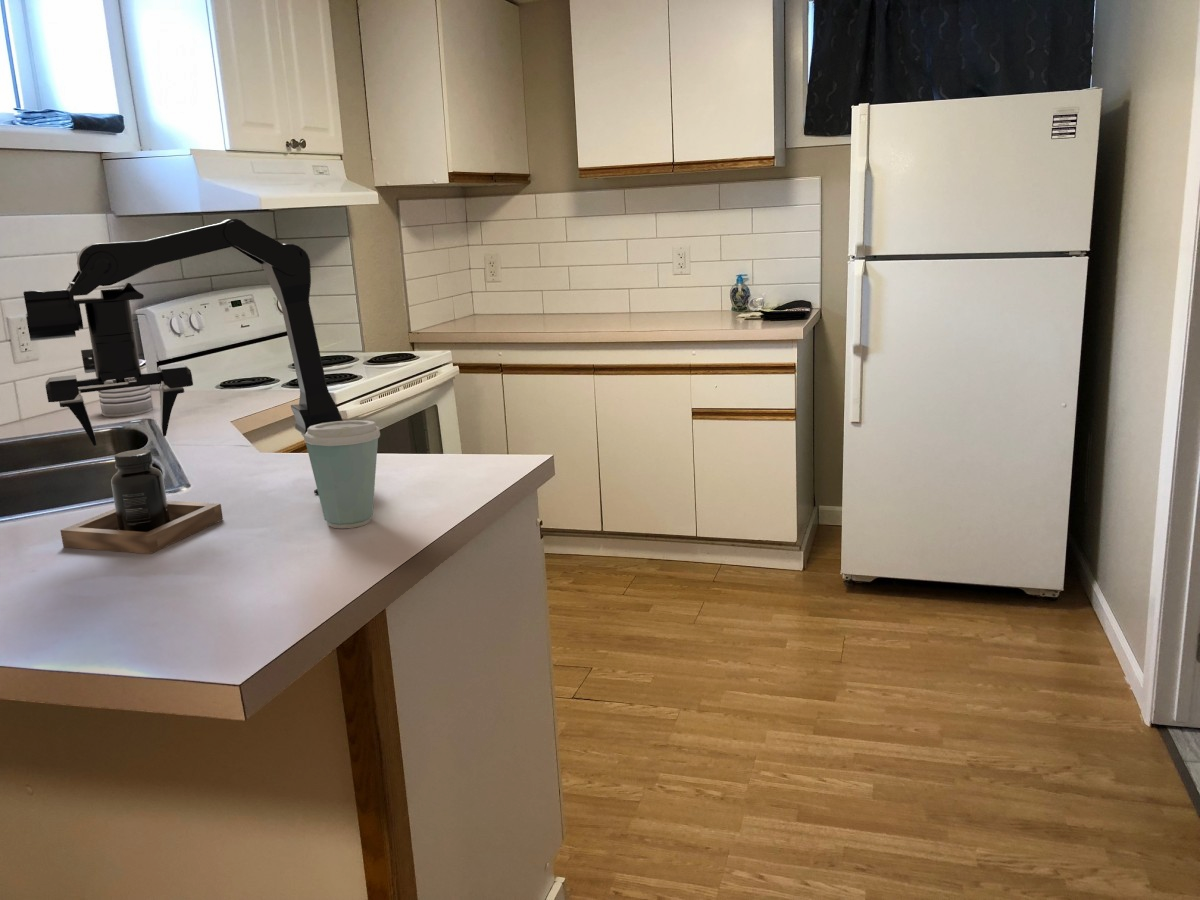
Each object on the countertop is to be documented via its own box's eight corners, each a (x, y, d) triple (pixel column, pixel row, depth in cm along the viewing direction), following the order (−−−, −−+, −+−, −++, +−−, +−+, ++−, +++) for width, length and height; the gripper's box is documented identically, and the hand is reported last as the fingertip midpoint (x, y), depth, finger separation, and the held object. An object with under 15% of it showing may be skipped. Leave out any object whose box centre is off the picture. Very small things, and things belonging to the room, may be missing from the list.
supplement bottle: (181, 527, 144) (169, 448, 141) (146, 542, 138) (133, 460, 135) (145, 524, 146) (132, 446, 143) (109, 538, 140) (95, 457, 137)
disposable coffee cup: (309, 518, 145) (297, 419, 142) (381, 506, 149) (371, 410, 146) (319, 538, 136) (306, 433, 132) (396, 526, 140) (386, 423, 136)
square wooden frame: (223, 519, 146) (220, 503, 146) (150, 553, 133) (147, 536, 132) (141, 514, 151) (139, 499, 150) (63, 547, 137) (60, 530, 136)
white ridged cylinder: (163, 409, 238) (155, 360, 235) (119, 418, 229) (111, 367, 226) (135, 405, 244) (128, 358, 241) (91, 414, 235) (83, 365, 232)
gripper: (176, 322, 150) (191, 422, 154) (38, 335, 141) (57, 440, 145) (185, 329, 140) (201, 434, 144) (37, 342, 132) (57, 454, 135)
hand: (130, 440), depth 142 cm, fingers open, 9 cm apart
